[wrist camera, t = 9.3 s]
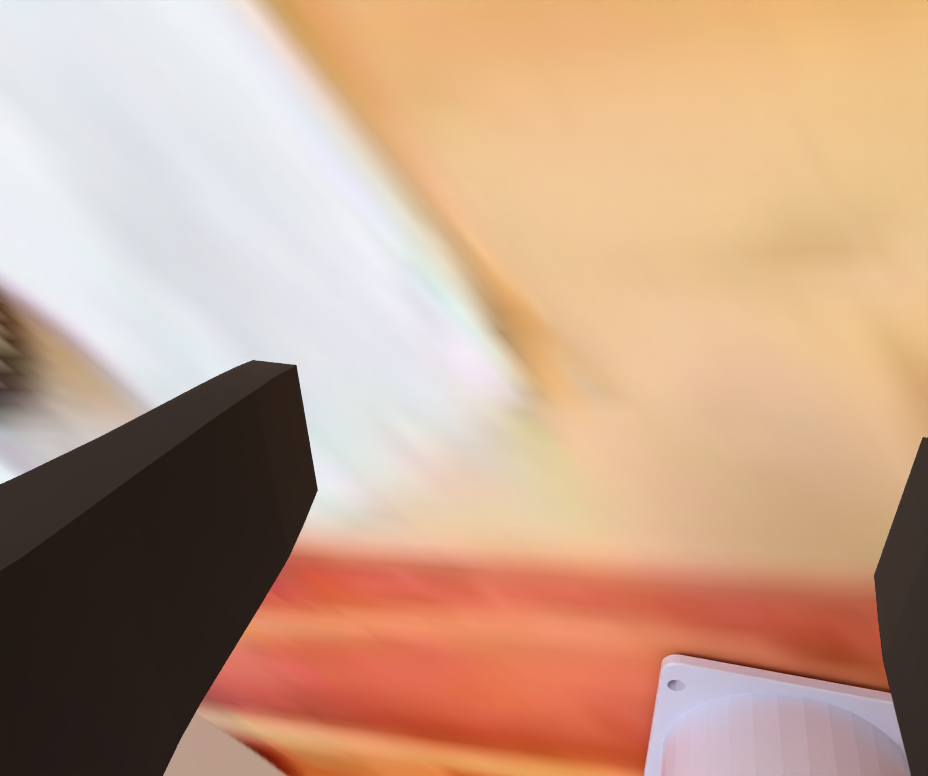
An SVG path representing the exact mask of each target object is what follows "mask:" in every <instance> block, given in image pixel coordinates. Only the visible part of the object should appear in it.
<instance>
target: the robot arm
mask: <svg viewBox="0 0 928 776" xmlns="http://www.w3.org/2000/svg"><path fill="white" fill-rule="evenodd" d="M317 491H318V489H317V483H316V477H315V471H314V466H313V460H312V454H311V448H310V442H309V436H308V430H307V425H306V419H305V413H304V407H303V401H302V395H301V389H300V384H299V378H298V372H297V366H296V365H290V364H282V363H273V362H264V361H256V360H252V361H250V362H247V363H245V364H242V365H240V366H237V367H235V368H233V369H231V370H229V371H227V372H224V373H222V374H220V375H218V376H216V377H214V378H212V379H210V380H208V381H206V382H204V383H202V384H200V385H199V386H197V387H195V388H193V389H191V390H189V391H187V392H185V393H183V394H181V395H179V396H177V397H176V398H174V399H172V400H170V401H168V402H166V403H164V404H162V405H160V406H158V407H156V408H155V409H153V410H151V411H149V412H147V413H145V414H143V415H141V416H139V417H137V418H135V419H134V420H132V421H130V422H128V423H126V424H124V425H122V426H120V427H118V428H116V429H114V430H112V431H111V432H109V433H107V434H105V435H103V436H101V437H99V438H97V439H95V440H93V441H91V442H88V443H86V444H84V445H82V446H80V447H78V448H76V449H74V450H72V451H70V452H68V453H66V454H64V455H61V456H59V457H57V458H55V459H53V460H51V461H49V462H47V463H45V464H43V465H41V466H39V467H36V468H34V469H32V470H30V471H28V472H26V473H24V474H22V475H20V476H18V477H16V478H13V479H11V480H9V481H7V482H4V483H2V484H0V776H163V774H164V772H165V770H166V768H167V766H168V764H169V762H170V760H171V758H172V756H173V754H174V751H175V750H176V747H177V745H178V743H179V741H180V739H181V737H182V735H183V734H184V732H185V730H186V728H187V727H188V725H189V723H190V721H191V719H192V718H193V716H194V714H195V712H196V710H197V709H198V707H199V705H200V703H201V702H202V700H203V698H204V697H205V695H206V694H207V692H208V690H209V689H210V687H211V685H212V684H213V682H214V680H215V679H216V677H217V676H218V674H219V672H220V671H221V669H222V667H223V666H224V664H225V662H226V661H227V659H228V658H229V656H230V654H231V653H232V651H233V649H234V648H235V646H236V644H237V643H238V641H239V640H240V638H241V636H242V635H243V633H244V631H245V630H246V628H247V627H248V625H249V623H250V622H251V620H252V618H253V617H254V615H255V613H256V612H257V610H258V609H259V607H260V605H261V604H262V602H263V600H264V599H265V597H266V595H267V593H268V592H269V590H270V588H271V587H272V585H273V583H274V582H275V580H276V578H277V577H278V575H279V573H280V572H281V570H282V568H283V567H284V565H285V563H286V561H287V560H288V558H289V556H290V554H291V552H292V549H293V547H294V545H295V543H296V541H297V538H298V536H299V534H300V532H301V529H302V527H303V525H304V522H305V520H306V518H307V515H308V513H309V510H310V508H311V505H312V503H313V500H314V498H315V496H316V493H317ZM874 579H875V590H876V601H877V612H878V622H879V631H880V639H881V648H882V656H883V662H884V667H885V671H886V675H887V680H888V684H889V688H890V692H891V693H888V692H882V691H877V690H871V689H866V688H861V687H855V686H850V685H844V684H839V683H833V682H828V681H822V680H817V679H811V678H806V677H800V676H795V675H789V674H784V673H778V672H773V671H767V670H762V669H756V668H751V667H746V666H740V665H735V664H729V663H724V662H718V661H713V660H707V659H702V658H696V657H691V656H685V655H678V654H673V655H669V656H667V657H665V658H664V659H663V661H662V664H661V670H660V676H659V683H658V689H657V695H656V701H655V707H654V714H653V720H652V726H651V732H650V738H649V745H648V751H647V757H646V763H645V769H644V776H928V438H925V437H923V438H922V441H921V444H920V446H919V449H918V452H917V455H916V458H915V461H914V463H913V466H912V469H911V472H910V475H909V478H908V481H907V483H906V486H905V489H904V492H903V495H902V498H901V500H900V503H899V506H898V509H897V512H896V515H895V517H894V520H893V523H892V526H891V529H890V532H889V534H888V537H887V540H886V543H885V546H884V549H883V551H882V554H881V557H880V560H879V563H878V566H877V568H876V571H875V574H874Z"/></svg>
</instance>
